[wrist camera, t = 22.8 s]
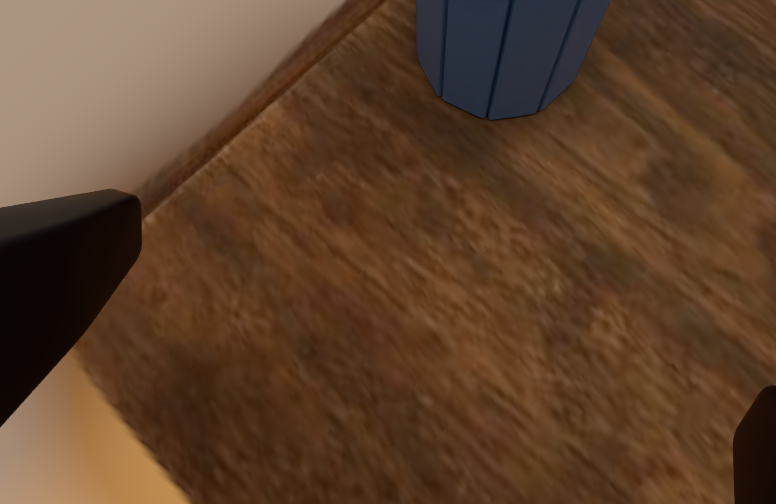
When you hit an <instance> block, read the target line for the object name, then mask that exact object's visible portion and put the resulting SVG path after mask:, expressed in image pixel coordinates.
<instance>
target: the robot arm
mask: <svg viewBox="0 0 776 504" xmlns="http://www.w3.org/2000/svg"><path fill="white" fill-rule="evenodd" d="M141 247H142V221H141V203H140V201H139V199H138V198H137V197H136V196H135V195H132V194H129V193H125V192H122V191H118V190H115V189H106V190H100V191H94V192H89V193H83V194H77V195H71V196H66V197H60V198H54V199H48V200H42V201H37V202H31V203H25V204H19V205H14V206H8V207H2V208H0V427H1V426H2V425H3V424H4V423H5V421H6V420H7V419H8V418H9V417H10V416H11V415H12V414H13V413H14V412H15V410H16V409H17V408H18V407H19V406H20V405H21V404H22V403H23V401H24V400H25V399H26V398H27V397H28V396H29V395H30V394H31V393H32V391H33V390H34V389H35V388H36V387H37V386H38V385H39V384H40V383H41V381H42V380H43V379H44V378H45V377H46V376H47V375H48V374H49V372H50V371H51V370H52V369H53V368H54V367H55V366H56V365H57V364H58V362H59V361H60V360H61V359H62V358H63V357H64V356H65V355H66V354H67V352H68V351H69V350H70V349H71V348H72V347H73V346H74V345H75V343H76V342H77V341H78V340H79V339H80V337H81V336H82V335H83V334H84V333H85V331H86V330H87V329H88V327H89V326H90V325H91V323H92V322H93V321H94V319H95V318H96V317H97V315H98V314H99V312H100V311H101V310H102V308H103V307H104V305H105V304H106V303H107V301H108V300H109V298H110V297H111V296H112V294H113V293H114V291H115V290H116V289H117V287H118V286H119V284H120V283H121V281H122V280H123V279H124V277H125V276H126V274H127V273H128V272H129V270H130V269H131V267H132V266H133V265H134V263H135V262H136V260H137V259H138V257H139V254H140V251H141ZM733 467H734V499H735V504H776V386H774V385H771V386H767V387H765V388H764V389H763V390H762V391H761V392H760V393H759V395H758V396H757V398H756V399H755V401H754V403H753V404H752V406H751V407H750V409H749V410H748V412H747V413H746V415H745V416H744V418H743V419H742V421H741V422H740V424H739V425H738V427H737V429H736V432H735V435H734V439H733Z"/></svg>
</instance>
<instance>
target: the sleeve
mask: <svg viewBox="0 0 776 504" xmlns="http://www.w3.org/2000/svg"><path fill="white" fill-rule="evenodd" d="M609 2H610V0H416V32H417V55H418V61H419V63H420V65H421V67H422V69H423V70H424V72H425V74H426V76H427V78H428V80H429V81H430V83H431V85H432V87H433V89H434V90H435V92H436V94H437V96H441V95H443V97H442V99H443V100H444V101H446V102H448V103H450V104H452V105H454V106H457V107H459V108H461V109H463V110H465V111H467V112H469V113H471V114H474V115H476V116H478V117H480V118H483V119H484V118H485V117H486V115H487V113H488V118H489V120H494V119H502V118H509V117H516V116H523V115H530V114H535V113H536V111H537V109H538V110H539V111H542V110H543V109H545V108H546V107H547V106H548V105H549V104H550V103H551V102H552V101H553V100H554V99H555V98H556V97H557V96H559V95H560V94H561V93H562V92H563V91H564V90H565V89H566V88H567V87H568V86H569V85H570V84H572V83H573V81H574V79H575V77H576V75H577V73H578V71H579V69H580V66H581V64H582V62H583V60H584V58H585V55H586V53H587V51H588V49H589V46H590V44H591V42H592V40H593V37H594V35H595V33H596V31H597V28H598V26H599V24H600V22H601V19H602V17H603V15H604V13H605V11H606V8H607V6H608V4H609Z"/></svg>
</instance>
